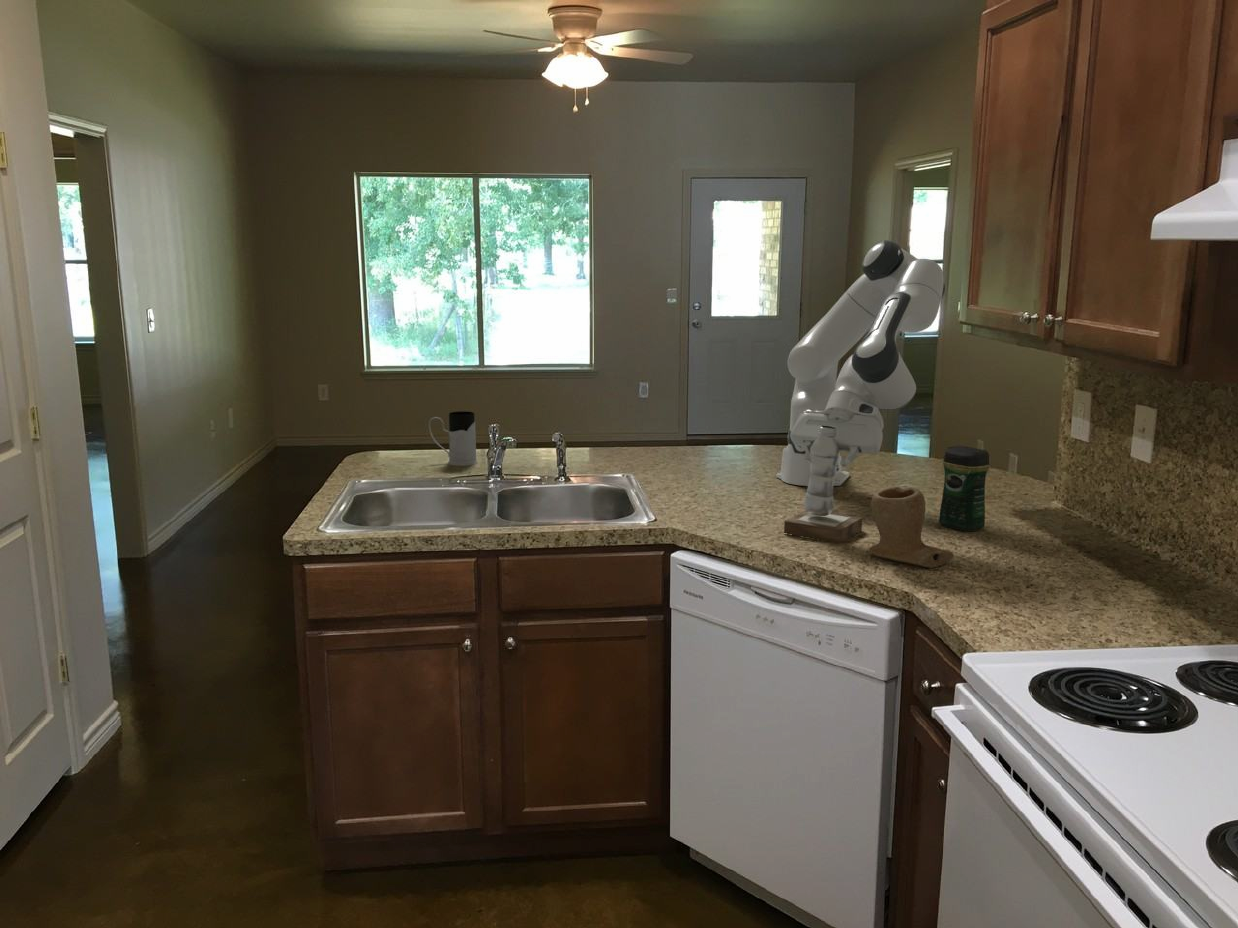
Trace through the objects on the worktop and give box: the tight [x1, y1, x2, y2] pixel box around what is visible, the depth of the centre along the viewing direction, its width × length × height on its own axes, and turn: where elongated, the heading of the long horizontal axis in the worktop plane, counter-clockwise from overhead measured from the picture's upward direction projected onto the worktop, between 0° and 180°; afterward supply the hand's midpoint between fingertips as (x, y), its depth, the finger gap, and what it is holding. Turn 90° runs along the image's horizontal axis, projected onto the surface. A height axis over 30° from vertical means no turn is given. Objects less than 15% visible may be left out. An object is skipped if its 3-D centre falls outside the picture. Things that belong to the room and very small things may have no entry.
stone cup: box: [868, 486, 954, 569], centre depth 195 cm, size 15×12×15 cm
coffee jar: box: [938, 445, 990, 532], centre depth 221 cm, size 10×8×19 cm
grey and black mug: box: [428, 410, 479, 467], centre depth 290 cm, size 9×14×15 cm, turn 89°
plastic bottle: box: [803, 425, 841, 516], centre depth 215 cm, size 6×7×20 cm
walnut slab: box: [783, 510, 863, 544], centre depth 217 cm, size 13×13×3 cm
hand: (825, 463), depth 214 cm, fingers open, 7 cm apart
